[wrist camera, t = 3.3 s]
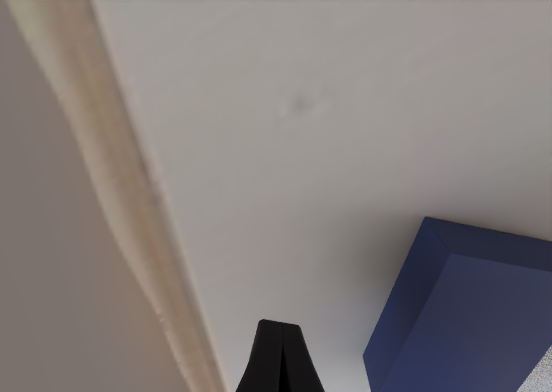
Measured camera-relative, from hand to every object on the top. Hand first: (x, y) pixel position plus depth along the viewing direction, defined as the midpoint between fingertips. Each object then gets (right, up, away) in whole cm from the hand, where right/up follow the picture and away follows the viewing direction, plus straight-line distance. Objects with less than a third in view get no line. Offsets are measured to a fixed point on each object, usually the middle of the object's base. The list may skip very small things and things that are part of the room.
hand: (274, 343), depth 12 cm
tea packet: (+8, 0, +4) cm, 9 cm away
